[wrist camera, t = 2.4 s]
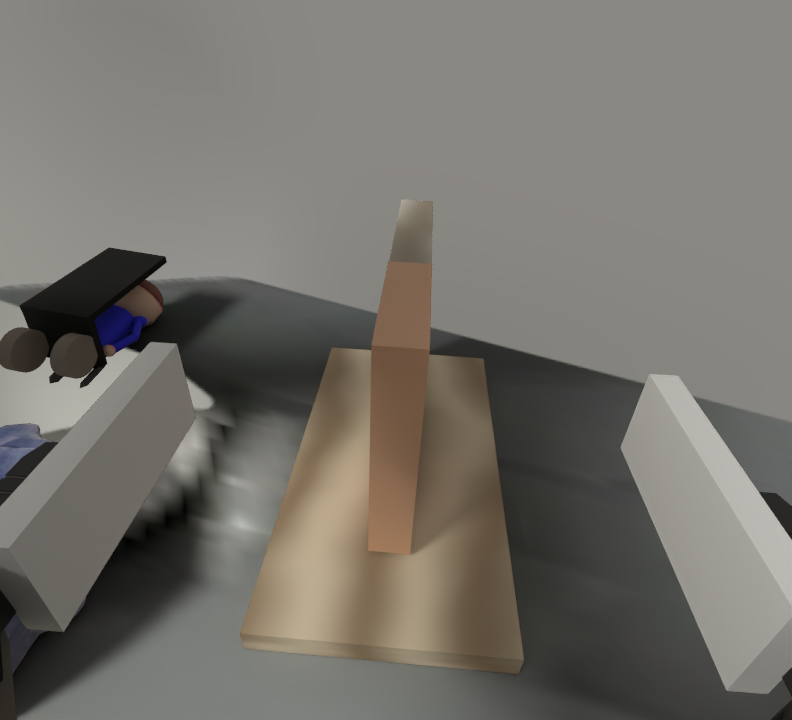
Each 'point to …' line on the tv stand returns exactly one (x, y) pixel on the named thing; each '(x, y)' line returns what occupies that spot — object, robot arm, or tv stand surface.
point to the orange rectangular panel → (398, 403)
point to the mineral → (3, 453)
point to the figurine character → (86, 316)
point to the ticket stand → (431, 535)
